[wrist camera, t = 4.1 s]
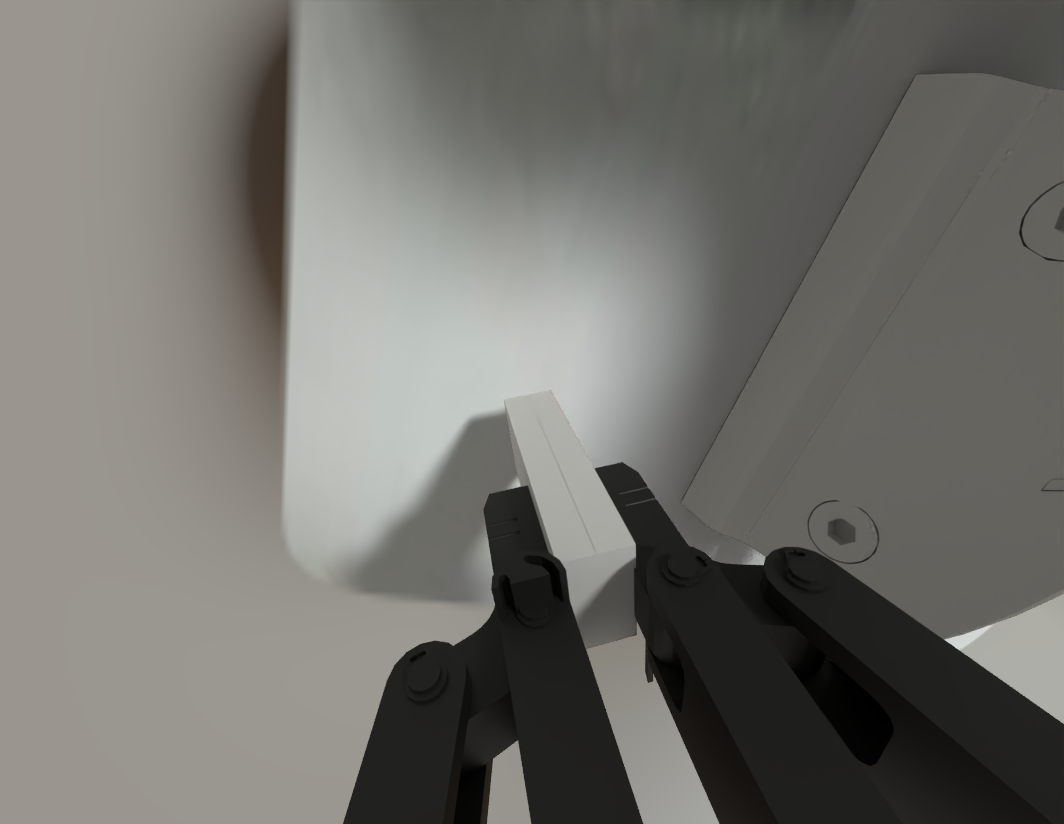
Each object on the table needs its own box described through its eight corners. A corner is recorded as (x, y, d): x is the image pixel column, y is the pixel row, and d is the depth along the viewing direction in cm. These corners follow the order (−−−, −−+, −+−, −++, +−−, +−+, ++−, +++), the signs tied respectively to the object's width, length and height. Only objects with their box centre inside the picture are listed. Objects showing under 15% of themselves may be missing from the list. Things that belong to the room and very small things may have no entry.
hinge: (925, 57, 13) (1802, 15, 6) (966, 120, 15) (1592, 144, 8) (676, 509, 20) (934, 742, 13) (735, 497, 22) (974, 683, 15)
